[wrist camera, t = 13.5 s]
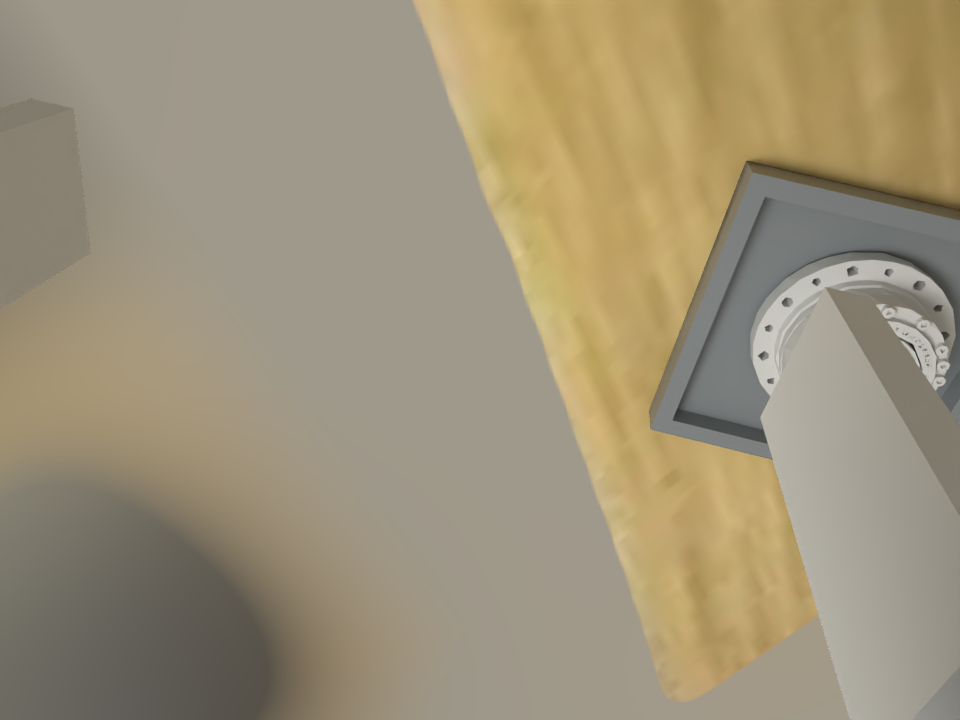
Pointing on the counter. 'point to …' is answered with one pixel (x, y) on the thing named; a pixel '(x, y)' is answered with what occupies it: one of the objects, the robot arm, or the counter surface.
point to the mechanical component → (882, 277)
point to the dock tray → (759, 271)
